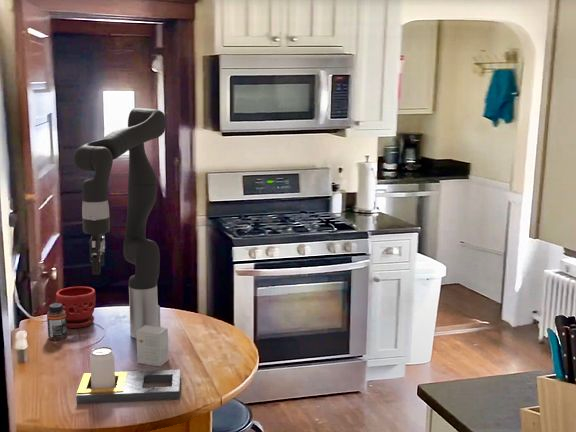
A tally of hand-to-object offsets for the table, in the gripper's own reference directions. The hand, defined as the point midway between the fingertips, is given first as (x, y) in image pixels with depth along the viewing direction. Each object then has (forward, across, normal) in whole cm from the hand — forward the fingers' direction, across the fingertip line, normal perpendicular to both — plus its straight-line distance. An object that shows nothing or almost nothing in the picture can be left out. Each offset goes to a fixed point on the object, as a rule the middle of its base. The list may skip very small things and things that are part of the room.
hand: (98, 270), depth 205 cm
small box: (+30, -2, +15) cm, 34 cm away
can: (+30, +17, +2) cm, 35 cm away
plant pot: (+30, -38, -13) cm, 50 cm away
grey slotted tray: (+30, +17, +10) cm, 36 cm away
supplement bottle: (+30, -25, -18) cm, 43 cm away
